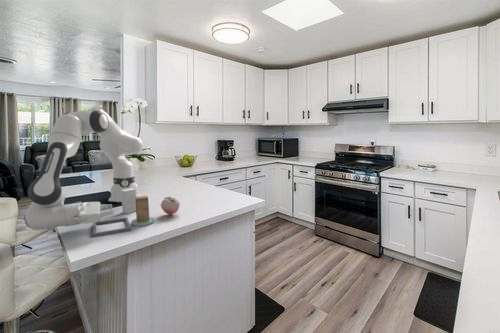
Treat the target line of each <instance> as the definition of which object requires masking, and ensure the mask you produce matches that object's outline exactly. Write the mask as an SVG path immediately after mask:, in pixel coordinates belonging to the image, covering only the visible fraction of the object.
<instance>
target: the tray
mask: <svg viewBox="0 0 500 333" xmlns="http://www.w3.org/2000/svg"><path fill="white" fill-rule="evenodd" d="M118 222H119V223H120V222H125V224H126V227H122V228H118V229H117V228H115V229H110V230H105V231H99V232H98V231H97V226H98V225H104V224H111V223H112V224H113V223H118ZM92 225H93V227H92V238H94V237H95V238H96V237H100V236H107V235H111V234H113V235H114V234H119V233H124V232H130V231H131V230H132V229H131V225H130V222H129V218H128V216H126V217H120V218H113V219H106V220H101V221H99V222H93V224H92Z"/></svg>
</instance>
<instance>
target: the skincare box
mask: <svg viewBox="0 0 500 333" xmlns="http://www.w3.org/2000/svg"><path fill="white" fill-rule="evenodd" d="M135 197H136V190H135V189H133V188H130V189H125V190H121V199H122V202H121V208H122V213H124V214H130V213H134V212H135V213H136V202H135Z"/></svg>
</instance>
